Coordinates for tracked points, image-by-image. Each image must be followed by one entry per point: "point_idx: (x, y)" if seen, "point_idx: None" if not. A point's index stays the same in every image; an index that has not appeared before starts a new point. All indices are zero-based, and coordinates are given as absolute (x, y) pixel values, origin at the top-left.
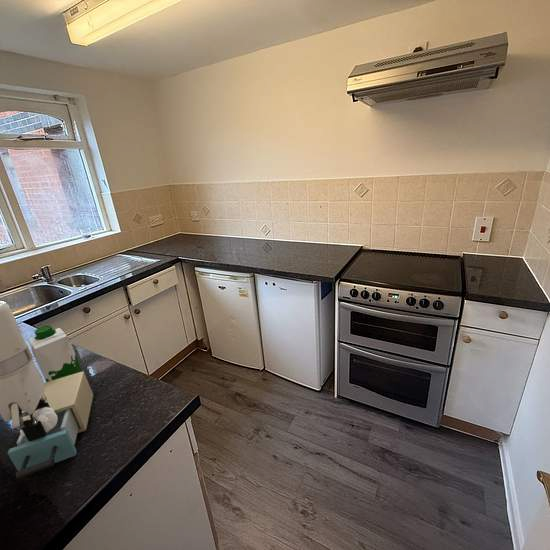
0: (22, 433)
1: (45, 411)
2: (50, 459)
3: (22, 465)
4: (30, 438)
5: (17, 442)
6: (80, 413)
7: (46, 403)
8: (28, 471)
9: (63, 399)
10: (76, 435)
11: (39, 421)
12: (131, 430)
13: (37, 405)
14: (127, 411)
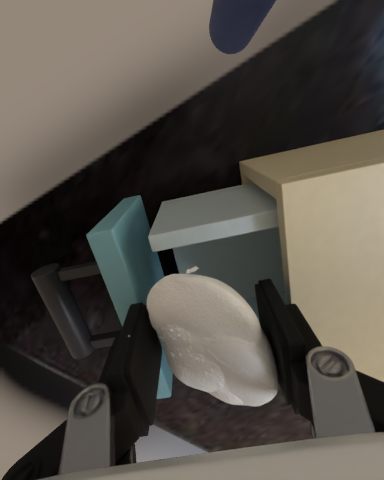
0: (151, 295)
1: (242, 396)
2: (80, 356)
3: (77, 270)
4: (117, 337)
5: (151, 239)
6: None
7: (295, 411)
8: (47, 306)
9: (363, 349)
10: None
11: (139, 435)
12: (214, 399)
13: (295, 382)
14: None
